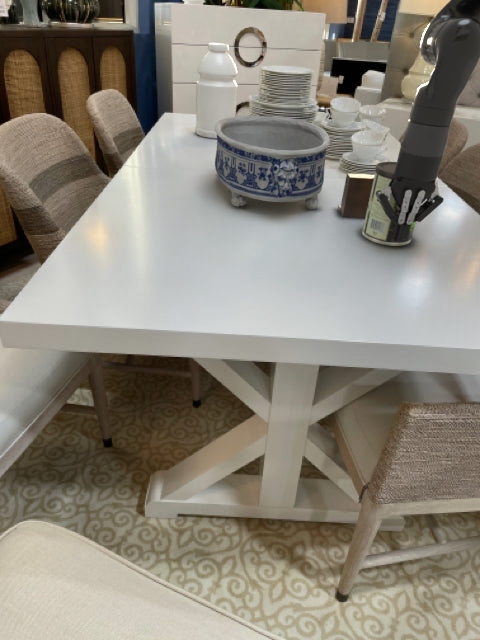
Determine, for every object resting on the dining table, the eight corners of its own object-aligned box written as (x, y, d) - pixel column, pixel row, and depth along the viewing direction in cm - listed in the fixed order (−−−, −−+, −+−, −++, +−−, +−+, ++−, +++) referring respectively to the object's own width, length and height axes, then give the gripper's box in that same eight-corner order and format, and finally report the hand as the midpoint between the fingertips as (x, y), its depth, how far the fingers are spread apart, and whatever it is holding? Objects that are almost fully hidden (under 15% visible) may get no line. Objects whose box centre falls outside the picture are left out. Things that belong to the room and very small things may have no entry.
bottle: (238, 133, 172) (244, 44, 157) (229, 141, 161) (234, 46, 146) (202, 128, 174) (203, 41, 159) (190, 136, 163) (191, 42, 148)
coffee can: (413, 232, 102) (431, 166, 94) (408, 250, 94) (429, 179, 86) (365, 223, 105) (379, 158, 97) (357, 239, 96) (372, 170, 89)
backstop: (403, 212, 112) (413, 174, 107) (410, 220, 108) (421, 181, 103) (337, 209, 111) (344, 170, 106) (342, 217, 107) (350, 177, 102)
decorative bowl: (342, 223, 103) (356, 153, 95) (222, 222, 99) (226, 149, 91) (296, 168, 138) (303, 113, 130) (205, 165, 134) (207, 108, 126)
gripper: (393, 152, 80) (370, 247, 89) (467, 157, 81) (437, 249, 90) (379, 142, 86) (359, 231, 96) (448, 147, 87) (422, 234, 97)
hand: (397, 240), depth 93 cm, fingers closed
